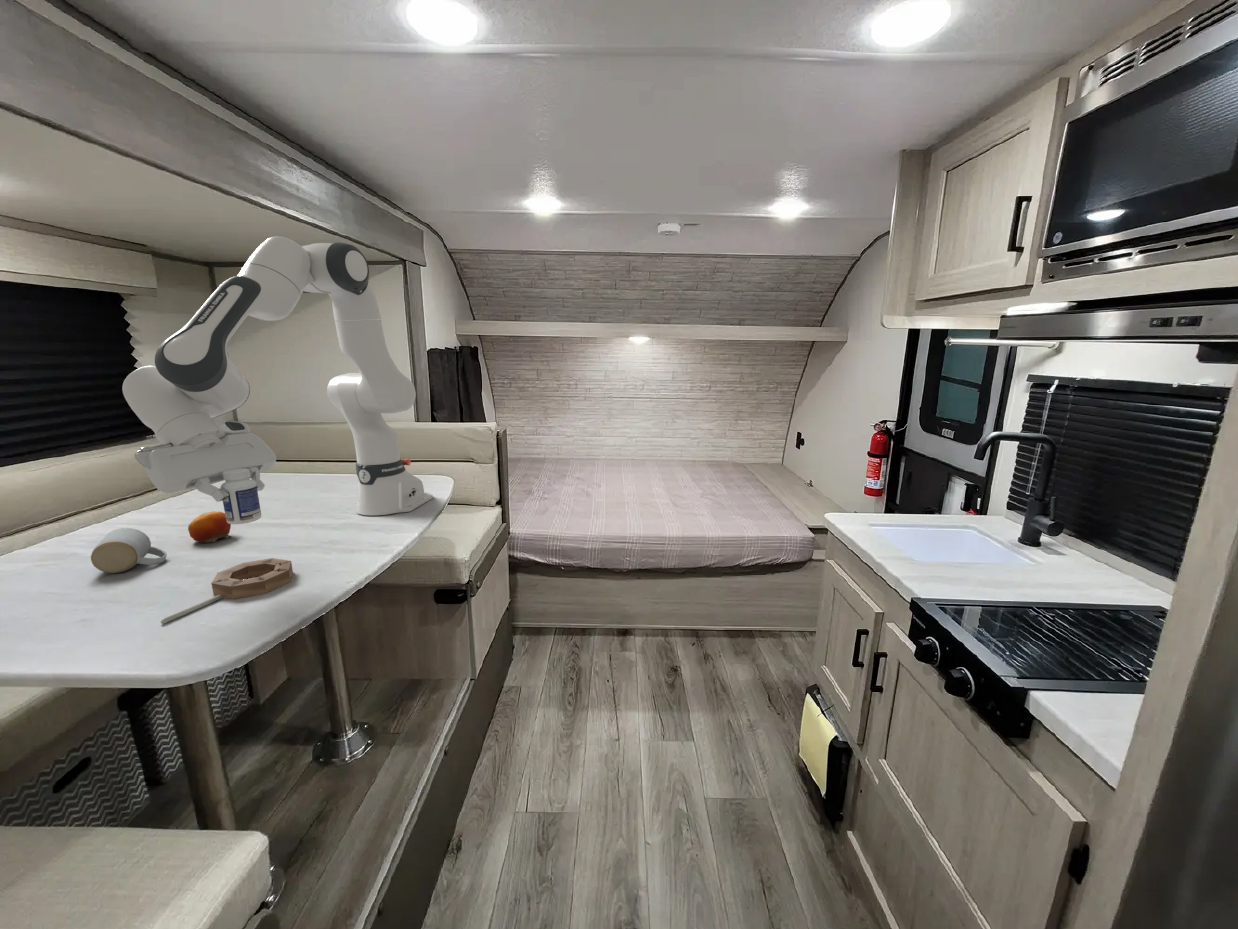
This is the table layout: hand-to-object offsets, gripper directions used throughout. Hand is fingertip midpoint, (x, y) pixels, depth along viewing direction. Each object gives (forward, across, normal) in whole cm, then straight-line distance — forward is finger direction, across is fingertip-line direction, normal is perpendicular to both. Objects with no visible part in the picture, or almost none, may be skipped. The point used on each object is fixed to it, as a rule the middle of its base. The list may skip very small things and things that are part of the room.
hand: (242, 493), depth 92 cm
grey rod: (+12, -11, +13) cm, 21 cm away
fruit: (-11, +15, +37) cm, 41 cm away
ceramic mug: (-11, -1, +37) cm, 38 cm away
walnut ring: (+12, 0, +13) cm, 18 cm away
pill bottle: (+3, 0, +4) cm, 6 cm away
